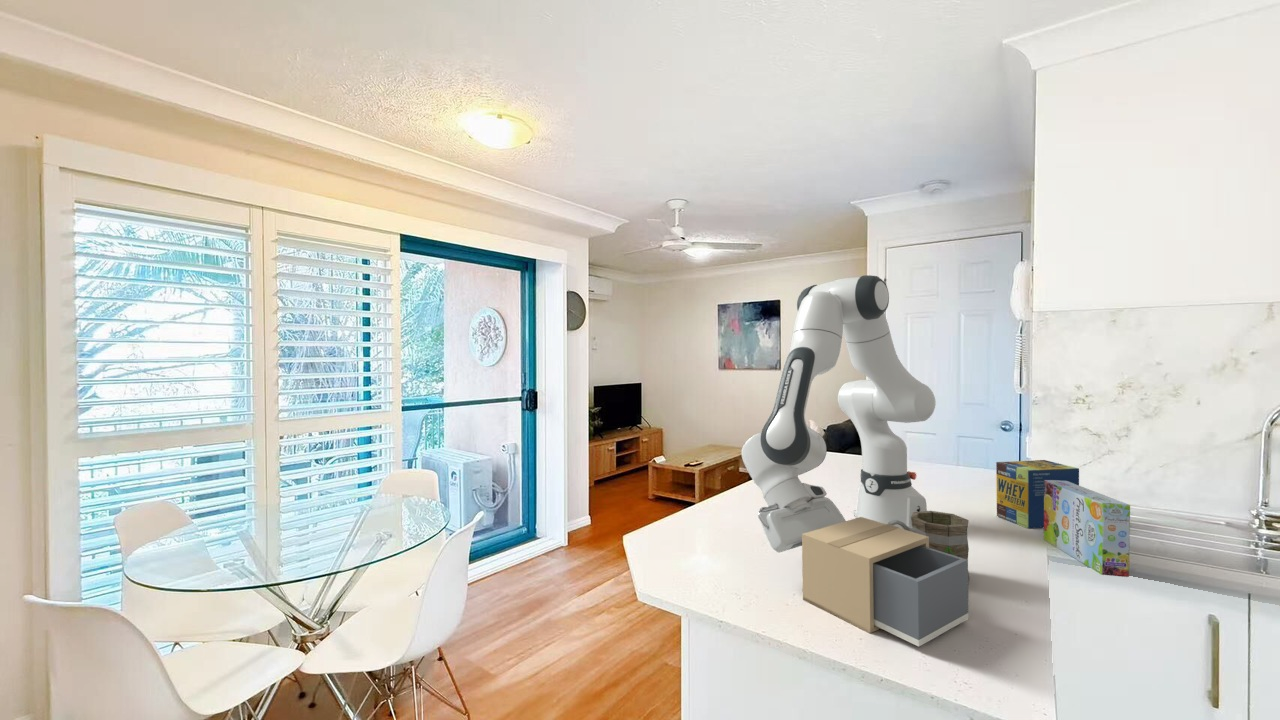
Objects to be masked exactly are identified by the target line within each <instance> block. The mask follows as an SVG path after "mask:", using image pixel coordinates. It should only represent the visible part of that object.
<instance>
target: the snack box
mask: <svg viewBox="0 0 1280 720" xmlns="http://www.w3.org/2000/svg"><path fill="white" fill-rule="evenodd" d="M1130 535H1131V504H1129V503H1126V502H1123V501H1120V500H1119V499H1115V498H1113V497H1110V496H1108V495H1105V494H1102V493H1100V492H1097V491H1094V490H1092V489H1089V488H1086V487H1084V486H1082V485H1080V484H1079V485H1076V484H1074V483H1071V482H1069V481H1060V480H1044V528H1043V540H1044V541H1046V542H1047V543H1050V544H1051V545H1053V546H1054V547H1055V548H1057V549H1059V550H1060V551H1062V552H1064V553H1065V554H1067V555H1069V556H1071V557H1072V558H1074V559H1075V560H1076V561H1078V562H1080V563H1082V564H1083V565H1085V566H1087V567H1088V568H1090V569H1092V570H1093V571H1095V572H1096V573H1098V574H1100V575H1102V576H1111V577H1121V578H1123V577H1124V578H1129V577H1130V549H1131V547H1130V544H1131V543H1130V541H1131V540H1130V538H1131V536H1130Z"/></svg>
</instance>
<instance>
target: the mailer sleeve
mask: <svg viewBox="0 0 1280 720" xmlns="http://www.w3.org/2000/svg"><path fill="white" fill-rule="evenodd" d="M920 545H922V546H925V547H928V548H929V537H928V536H925V535H921V534H918V533H914V532H911V531H908V530H904V529H901V528H899V527H896V526H893V525H889V524H884V523H880V522H877V521H873V520H870V519H867V518H863V517H859V518H857V517H855V518H852V519H849V520H846V521H845V522H841V523H838V524H835V525H831V526H828V527H824V528H821V529H817V530H814V531H811V532H807V533H804V534H802V546H801V552H802V553H801V555H802V556H801V557H802V561H801V562H802V563H801V564H802V600H803V601H804V602H807V603H809V604H811V605H812V606H815V607H817V608H818V609H821V610H822V611H824V612H827V613H829V614H830V615H833V616H835V617H837V618H838V619H841V620H842V621H845V622H847V623H849V624H850V625H853V626H855V627H857V628H858V629H860V630H862V631H864V632H866V633H868V634H871V633H874V632H876V631H878V630H880V629H881V628H879V627H877V626H875V625H874V603H873V563H875V562H878V561H880V560H883V559H886V558H888V557H891V556H893V555H896V554H899V553H901V552H904V551H907V550H909V549H912V548H915V547H917V546H920Z"/></svg>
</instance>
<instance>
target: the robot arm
mask: <svg viewBox="0 0 1280 720" xmlns="http://www.w3.org/2000/svg"><path fill="white" fill-rule="evenodd" d="M889 301H890V293H889V288H888V286H887V283H886V282H885V281H884V280H883V279H881V278H880V277H879V276H877V275H870V274H869V275H861V276H854V277H846V278H845V277H844V278H838V279H836V280H832V281H827V282H824V283H820V284H813V285H811V286H808V287H806V288H804V289H803V290H802V291H801V292H800V294H799V296H798V298H797V301H796V309H797V313H796V317H795V320H794V324H793V327H792V328H793V329H792V335H791V342H790V347H789V351H788V355H787V357H786V360H785V363H784V366H783V369H782V374H781V378H780V381H779V385H778V389H777V392H776V393H777V394H776V398H775V402H774V404H773V409H772V411H771V413H770V415H769V418H767V420H766V422H765V424H764V425H763V428H762V430H761V432H758V433H755V434H753V435H752V436H750V437H749V438H748V439H747V440H746V441H745V443H743V446H742V447H741V450H740V451H741V458H742V462H743V464H744V466H745V469H746V470H747V472H748V474H749V476H750V478H751V479H752V481H753V482H754V484H755V485H756V486H757V487H758V488H759V490H761V494H762V497H763V499H764V501H765V502H766V504H767V505H768V506H763V507H762V506H761V507H760V508H759V511H758V512H757V517H758V520H759V521H760V523H761V526H762V528H763V531H764V534H765V536H766V539H767V541H768V542H769V545H770V547H771V548H772V549H773V550H774V551H775V552H776V553H782V552H786V551H790V550H792V549H796V548H800V547H802V534H804V533H807V532H811V531H814V530H817V529H821V528H824V527H828V526H831V525H835V524H838V523H841V522H845V521H847V520H846V518H845V517H844V515H843V514H842V512H841V511H840V510H839V508H838V507H837V505H836V504H835V503H834V502H833V500H831V499H830V498H829V497H827V494H828V493H827V491H826V489H825V488H824V487H823V486H819V485H813V484H808V483H805V482H802V481H801V480H800V478H799V476H800V475H804V474H805V473H807V472H809V471H812V470H814V469H816V468H818V467H819V466H820V465H821V464H822V463H823V462H824V460H825V459H826V456H827V452H828V451H827V449H828V447H827V443H826V440H825V438H824V437H823V436H822V435H821V434H820V433H819V432H817V431H816V430H814V429H813V428H811V427H810V426H808V424H807V423H806V422H807V421H806V417H805V415H806V414H805V413H806V409H807V405H808V400H809V395H810V390H811V387H812V383H813V381H814V379H815V377H817V376H820V375H823V374H826V373H828V372H830V371H831V370H832V369H834V368H835V367H836V365H837V362H838V360H839V357H840V353H841V348H842V341H843V337H844V340H845V345H846V350H847V352H848V356H849V361H850V363H851V365H852V367H853V369H855V370H856V371H857V372H858V373H860V374H862V375H864V376H865V377H867V379H859V380H858V379H856V380H853V381H848V382H845V383H843V384H842V386H841V387H840V388H839V390H838V394H837V404H838V407H839V409H840V410H841V412H842V413H844V414H845V415H846V416H847V418H849V420H850V421H851V422H852V424H853V425H854V427H855V429H856V432H857V434H858V436H859V440H860V446H861V460H862V461H861V462H862V464H861V465H862V468H861V469H860V483H861V485H859V487H858V488H857V489H858V490H857V491H858V492H857V501H856V509H855V510H853V516H855V518H859V517H863V518H867V519H870V520H873V521H877V522H880V523H884V524H888V522H890V521H893V520H898V521H901V522H903V523H904V524H905V525H906V526H908V527H909V528H912V521H911V516H912V514H913V512H920V511H928V507H927V499H926V498H925V496H924V495H922V494H921V493H920V492H919V491H918V490H916V489H915V487H913V486H912V484H913V483H912V480H916V479H917V473H916V472H914V471H908V447H907V444H906V443H905V441H904V440H903V439H902V438H901V437H900V436H898V435H896V433H894V432H893V431H892V429H891V428H890V426H889V423H888V422H896V423H904V424H905V423H906V424H909V423H919V422H925V421H927V420H928V419H930V418H931V416H932V415H933V414H934V412H935V409H936V404H937V402H936V395H934V392H933V391H932V389H931V387H929V386H928V385H927V384H924V383H922V382H921V381H920V380H918V379H917V378H915V376H913V375H912V374H911V373H910V372H909V371H908V370H907V368H905V366H904V365H903V363H902V362H901V360H900V359H899V356H898V355H897V352H896V351H897V350H896V348H895V345H894V343H893V342H894V341H893V339H892V334H891V331H890V327H889V323H888V319H887V317H886V314H885V312H886V311H887V310H888V307H889V303H890V302H889ZM893 526H896V527H899V528H901V529H903V527H902V526H900V525H898V524H895V525H893Z"/></svg>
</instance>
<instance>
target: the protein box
mask: <svg viewBox="0 0 1280 720" xmlns="http://www.w3.org/2000/svg"><path fill="white" fill-rule="evenodd" d="M995 464H996V468H995V469H996V471H995V472H996V475H995V477H996V517H997V516H998V518H1000V519H1002V520H1003V519H1004V520H1005V521H1008V522H1010V523H1013V524H1015V525H1018V526H1021V527H1023V528H1025V529H1044V528H1043V527H1044V480H1060V481H1069V482H1071V483H1074V484H1076V485H1079V486H1080V468H1079V467H1074V466H1072V465H1071V466H1070V465H1067V464H1062V463H1059V462H1054V461H1050V460H1045V459H1037V460H1036V459H1035V460H1017V461H1016V460H1014V461H1011V460H1010V461H996V462H995Z"/></svg>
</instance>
